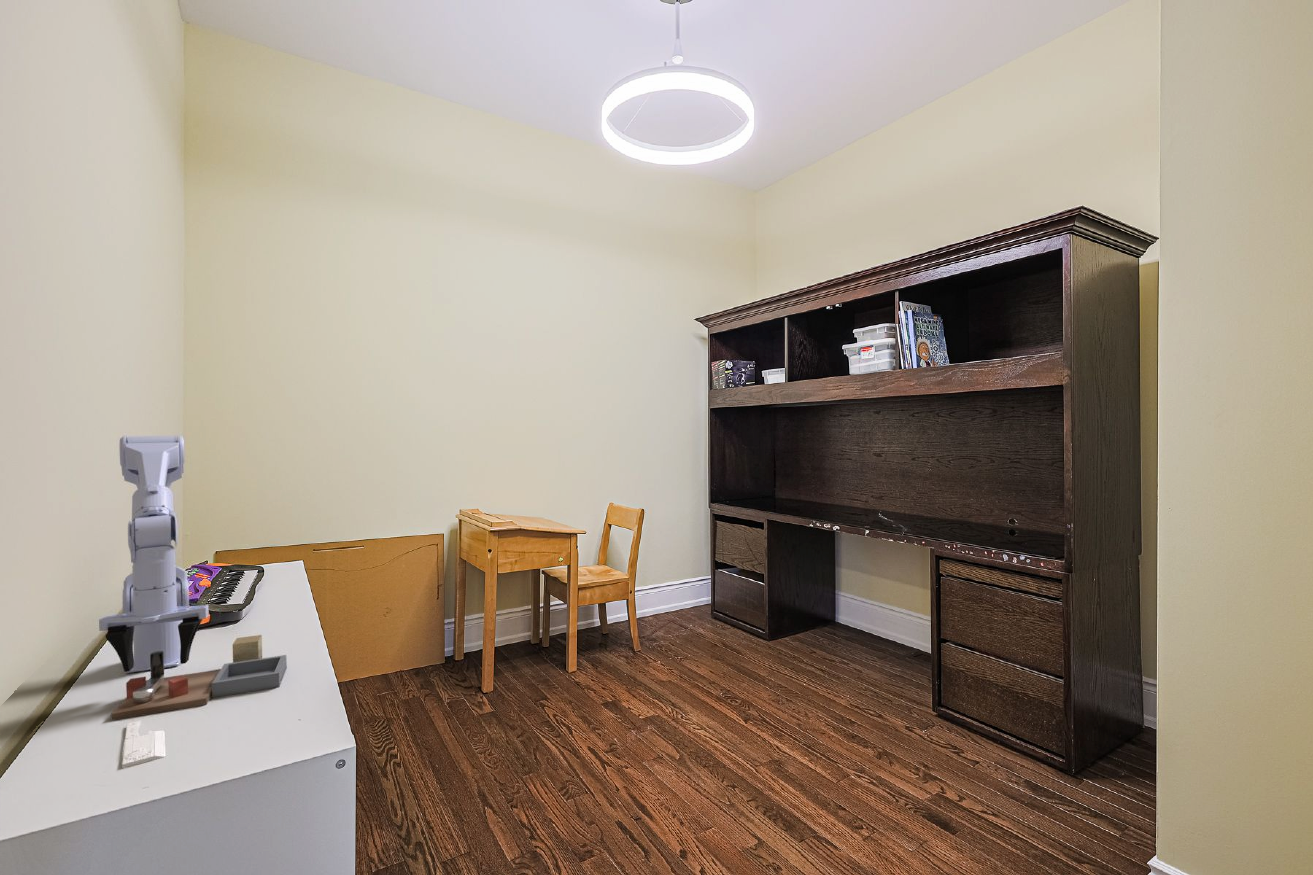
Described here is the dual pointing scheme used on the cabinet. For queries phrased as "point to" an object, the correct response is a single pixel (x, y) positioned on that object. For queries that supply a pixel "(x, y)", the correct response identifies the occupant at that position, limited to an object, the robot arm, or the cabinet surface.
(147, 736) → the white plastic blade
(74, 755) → the cabinet surface
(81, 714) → the cabinet surface
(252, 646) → the stop block
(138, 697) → the crank
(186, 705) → the crank base
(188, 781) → the cabinet surface
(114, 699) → the cabinet surface
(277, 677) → the tray
